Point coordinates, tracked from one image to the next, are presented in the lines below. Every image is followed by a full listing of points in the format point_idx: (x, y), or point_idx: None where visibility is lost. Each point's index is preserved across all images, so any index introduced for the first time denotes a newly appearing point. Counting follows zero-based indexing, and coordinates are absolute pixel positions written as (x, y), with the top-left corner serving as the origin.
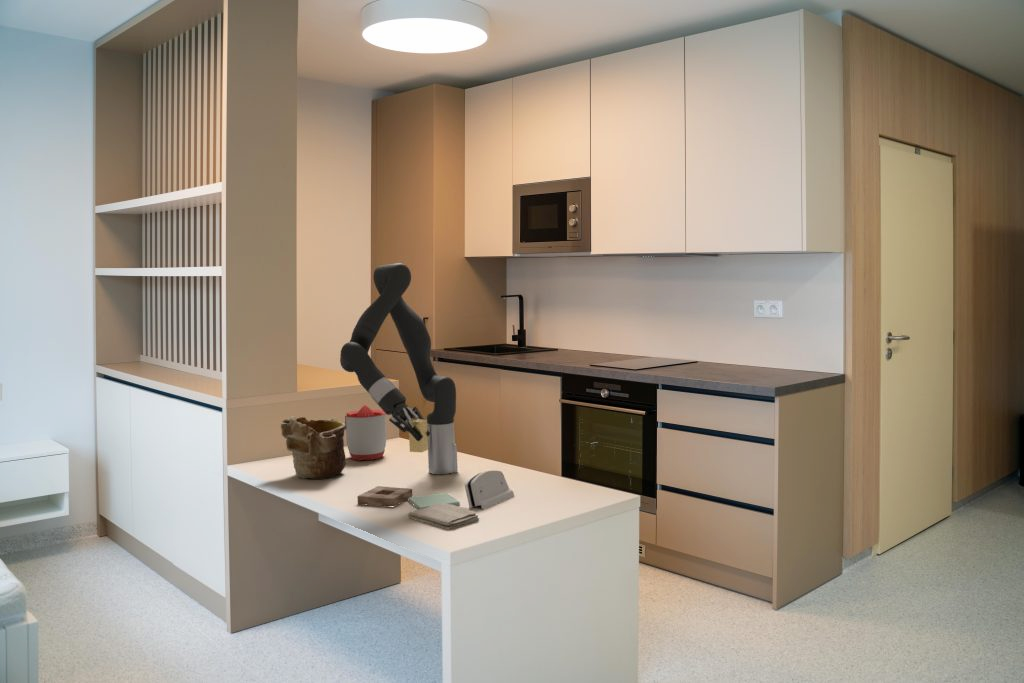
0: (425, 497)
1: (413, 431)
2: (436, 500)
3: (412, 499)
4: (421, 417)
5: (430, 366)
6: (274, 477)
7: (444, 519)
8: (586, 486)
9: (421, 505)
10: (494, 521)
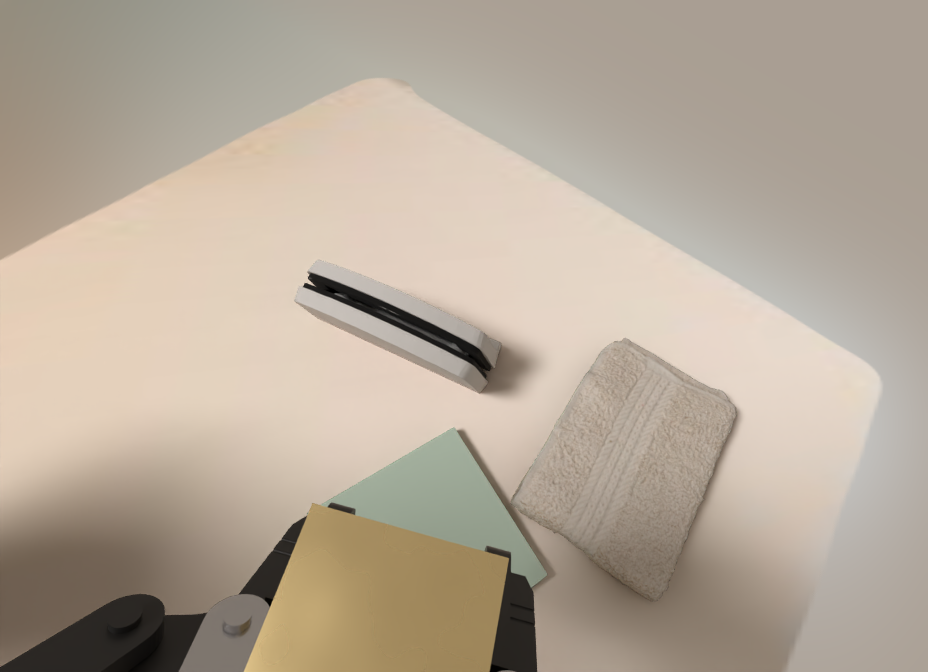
0: None
1: (534, 666)
2: (437, 526)
3: None
4: (68, 666)
5: None
6: None
7: (722, 422)
8: (265, 136)
9: None
10: (612, 305)
